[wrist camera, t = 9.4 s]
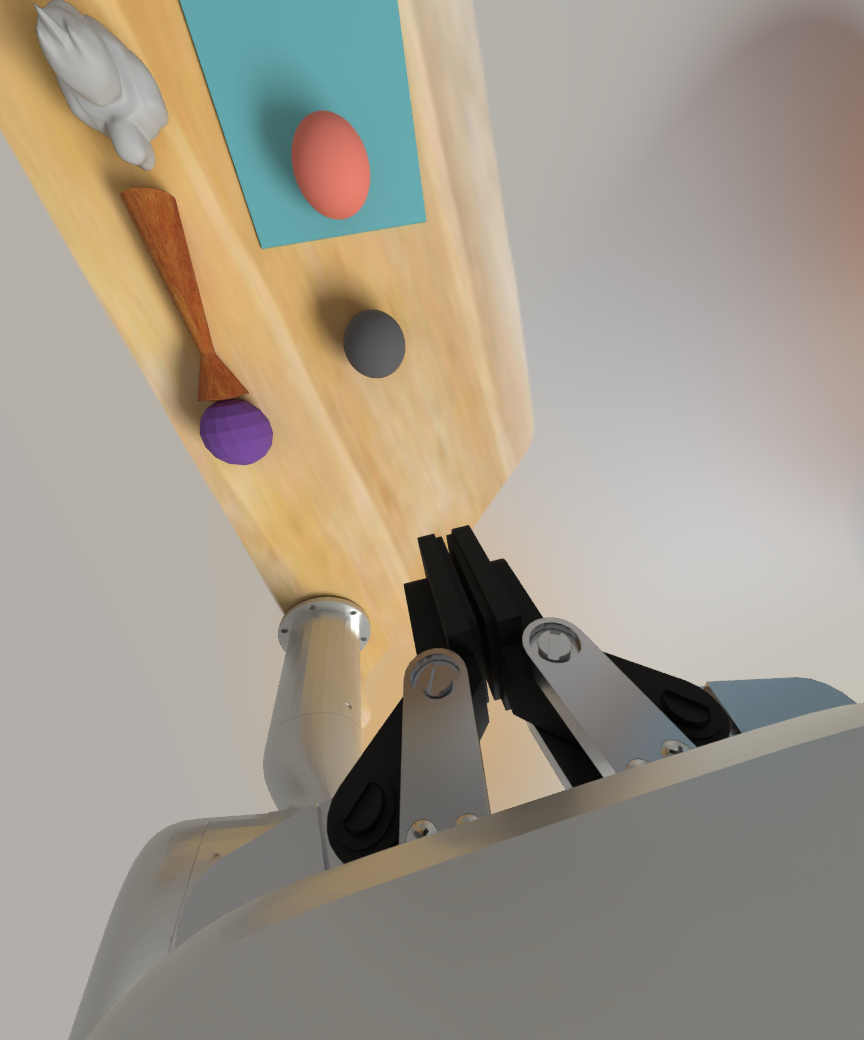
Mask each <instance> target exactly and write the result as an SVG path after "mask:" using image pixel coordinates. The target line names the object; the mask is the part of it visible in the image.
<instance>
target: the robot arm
mask: <svg viewBox="0 0 864 1040" xmlns="http://www.w3.org/2000/svg"><path fill="white" fill-rule="evenodd" d="M446 537H447V543H448V549H449V553H448V550H447V548H446V545H445V543H444V541H443V538H442V537H437V538H436V537H435V535H434V534H430V535H426V536H422V537H418V538H417V539H418V544H419V548H420V552H421V557H422V561H423V566H424V570H425V575H426V578H425V579H421V580H417V581H413V582H409V583H405V584H404V589H405V595H406V600H407V605H408V611H409V616H410V621H411V626H412V632H413V637H414V642H415V648H416V653H417V656H416V657H415V658H414V659H413V660H412V661H411V662H410V663H409V665H408V667H407V669H406V671H405V676H404V685H403V686H404V687H403V697H402V699H401V700H400V702H399V703H398V704H397V706H396V707H395V709H394V710H393V712H392V713H391V714H390V716H389V717H388V719H387V720H386V721H385V723H384V724H383V726H382V727H381V728H380V730H379V731H378V733H377V734H376V735H375V737H374V738H373V740H372V741H371V743H370V744H369V745H368V747H367V748H366V750H365V751H364V752H363V754H362V755H361V689H360V651H361V650H362V649H363V648H364V647H365V646H366V644H367V642H368V640H369V637H370V621H369V618H368V616H367V614H366V613H365V612H364V610H363V609H361V608H360V607H359V606H358V605H356V604H355V603H353V602H351V601H348V600H345V599H341V598H337V597H318V598H313V599H309V600H306V601H303V602H301V603H299V604H297V605H296V606H294V607H293V608H291V609H290V610H289V611H288V612H287V613H286V614H285V616H284V617H283V619H282V621H281V623H280V626H279V630H278V639H279V642H280V645H281V646H282V648H283V649H284V651H285V652H286V655H285V659H284V664H283V669H282V673H281V678H280V682H279V687H278V691H277V696H276V701H275V705H274V710H273V714H272V719H271V724H270V729H269V733H268V738H267V742H266V747H265V752H264V759H263V770H264V777H265V781H266V784H267V787H268V790H269V792H270V794H271V797H272V799H273V801H274V802H275V804H276V806H277V808H278V810H279V811H275V812H269V813H268V814H256V815H243V816H229V817H216V818H203V819H194V820H187V821H183V822H178V823H176V824H173V825H171V826H168V827H167V828H165V829H163V830H161V831H160V832H158V833H157V834H156V835H155V836H154V837H153V838H152V839H151V840H150V841H149V842H148V843H147V844H146V845H145V846H144V848H143V849H142V850H141V852H140V853H139V855H138V856H137V858H136V859H135V861H134V863H133V865H132V867H131V868H130V871H129V872H128V875H127V877H126V879H125V881H124V883H123V885H122V888H121V890H120V892H119V895H118V897H117V900H116V902H115V905H114V907H113V910H112V913H111V915H110V918H109V921H108V924H107V926H106V929H105V932H104V935H103V938H102V941H101V944H100V946H99V949H98V952H97V955H96V958H95V961H94V964H93V967H92V970H91V974H90V976H89V979H88V982H87V985H86V988H85V991H84V994H83V997H82V1001H81V1003H80V1006H79V1009H78V1012H77V1015H76V1018H75V1021H74V1024H73V1027H72V1031H71V1033H70V1036H69V1039H68V1040H864V703H859V704H857V703H856V702H854V701H853V700H852V699H850V698H849V697H848V696H847V695H845V694H844V693H842V692H841V691H839V690H837V689H835V688H833V687H831V686H829V685H827V684H825V683H822V682H818V681H816V680H813V679H808V678H798V677H795V678H773V679H753V680H735V681H714V682H706V684H705V686H704V687H698V686H696V685H694V684H692V683H690V682H688V681H685V680H682V679H680V678H676V677H674V676H671V675H668V674H665V673H662V672H659V671H657V670H654V669H651V668H648V667H645V666H642V665H639V664H637V663H634V662H631V661H628V660H625V659H622V658H620V657H617V656H614V655H611V654H608V653H605V652H602V651H601V650H600V649H599V648H598V647H597V646H596V645H595V644H594V643H593V642H592V641H591V640H590V639H589V638H588V637H587V636H586V635H585V634H584V633H583V632H582V631H581V630H580V629H579V628H578V627H576V626H575V625H574V624H572V623H570V622H568V621H566V620H563V619H559V618H543V617H542V615H541V614H540V612H539V611H538V609H537V608H536V606H535V604H534V603H533V602H532V600H531V598H530V597H529V595H528V594H527V592H526V591H525V589H524V588H523V586H522V585H521V583H520V581H519V580H518V578H517V577H516V575H515V574H514V572H513V571H512V570H511V568H510V566H509V565H508V563H507V562H506V560H505V559H503V558H502V559H498V560H495V561H489V559H488V558H487V555H486V554H485V552H484V550H483V548H482V547H481V545H480V543H479V542H478V540H477V538H476V536H475V535H474V533H473V531H472V530H471V528H470V526H469V525H467V526H463V527H459V528H455V529H452V534H449V535H447V536H446ZM486 680H487V682H488V685H489V688H490V690H491V693H492V696H493V698H494V700H498V699H501V700H502V702H503V705H504V707H505V710H510V709H511V710H512V712H513V714H514V715H516V716H518V717H520V718H522V719H524V720H526V723H527V725H528V727H529V730H530V731H531V733H532V735H533V736H534V738H535V740H536V741H537V743H538V745H539V746H540V748H541V750H542V751H543V753H544V755H545V756H546V758H547V760H548V761H549V763H550V765H551V766H552V768H553V770H554V771H555V773H556V775H557V776H558V778H559V780H560V781H561V783H562V785H563V786H564V788H565V791H562V792H558V793H556V794H552V795H550V796H547V797H543V798H540V799H537V800H534V801H531V802H528V803H525V804H522V805H519V806H516V807H513V808H510V809H506V810H504V811H500V812H497V813H494V814H491V811H490V804H489V798H488V791H487V785H486V778H485V773H484V766H483V759H482V753H481V747H480V740H481V737H482V735H483V734H484V731H485V729H486V727H487V725H488V723H489V716H488V709H487V703H488V702H489V697H488V689H487V683H486Z"/></svg>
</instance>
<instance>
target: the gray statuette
mask: <svg viewBox="0 0 864 1040" xmlns="http://www.w3.org/2000/svg"><path fill="white" fill-rule="evenodd" d="M33 4H34V3H33ZM34 6H35V8H36V10H37V12H38V20H37V26H36V33H37V37H38V40H39V44H40V46H41V49H42V51H43V53H44V55H45V58H46V59H47V61H48V63H49V64H50V66H51V67H52V69H53V70H54V71H55V73H56V77H57V80H58V83H59V85H60V87H61V90H62V92H63V94H64V96H65V99H66V101H67V103H68V105H69V107H70V109H71V111H72V112H73V114H74V115H75V116H76V117H77V118H79V119H80V120H81V121H82V122H84V123H85V124H87V125H88V126H89V127H91V128H93V129H94V130H96V131H98V132H101V133H102V134H104V135H105V136H107V137H109V138H111V140H112V143H113V145H114V147H115V150H116V152H117V154H118V155H119V156H120V157H121V158H122V159H123V160H124V161H126V162H128V163H130V164H133V165H138V166H139V167H140V168H142V169H143V170H146V171H148V170H151V169H152V168H153V167H154V165H155V154H154V151H153V148H152V146H151V144H150V142H151V141H152V140H153V139H155V138H156V137H157V136H158V134H159V132H160V129H161V128H163V127H165V126H166V125H167V123H168V113H167V109H166V106H165V104H164V101H163V98H162V95H161V92H160V90H159V87H158V85H157V83H156V81H155V79H154V78H153V76H152V75H151V73H150V72H149V70H148V69H147V67H146V66H145V65H144V63H143V62H142V61H141V60H140V59H139V58H138V57H137V56H136V55H135V54H134V53H133V52H131V51H130V50H129V49H127V48H126V46H125V45H124V44H123V43H122V42H121V41H120V40H119V39H118V38H117V37H115V36H114V35H113V34H112V33H111V32H110V31H109V30H108V29H106V28H105V27H104V26H103V25H102V24H101V23H100V22H98V21H97V20H96V19H94V18H93V17H91V16H88V15H81V14H80V13H79V12H78V11H77V10H76V9H75V8H74V7H73V6H72V5H70V4H69V3H67V2H65V1H62V0H52V1H50V2H49V3H48V4H47V5H46V7H43V8H40V7H38V6H37V5H36V4H34Z"/></svg>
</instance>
